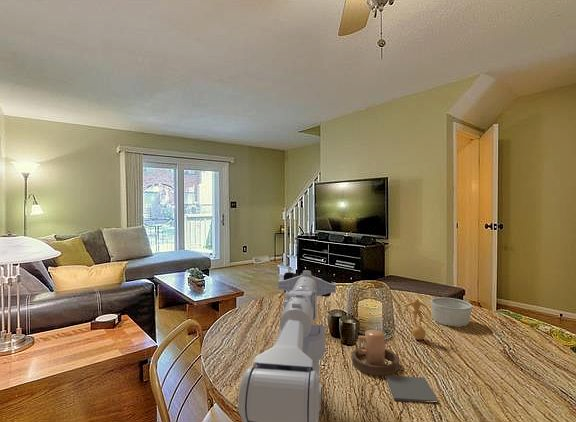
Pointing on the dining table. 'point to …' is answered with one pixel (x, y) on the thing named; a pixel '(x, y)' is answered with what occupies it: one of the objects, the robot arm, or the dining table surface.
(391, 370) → the dark brown ring
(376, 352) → the pink rounded pillar
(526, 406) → the dining table surface
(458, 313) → the ramekin
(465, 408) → the dining table surface
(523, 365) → the dining table surface
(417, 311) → the figurine
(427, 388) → the charcoal mat
